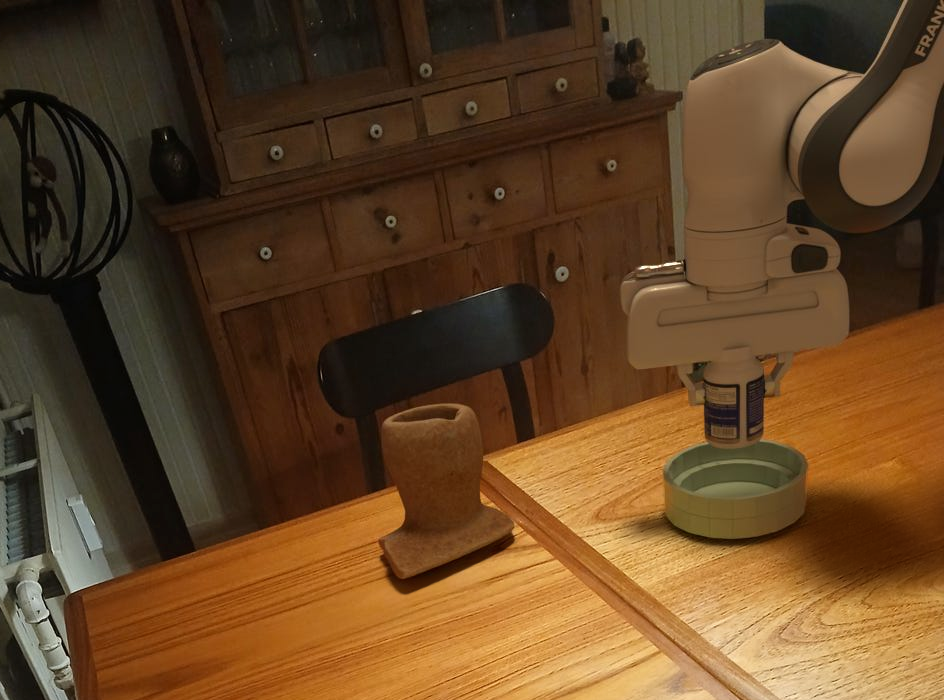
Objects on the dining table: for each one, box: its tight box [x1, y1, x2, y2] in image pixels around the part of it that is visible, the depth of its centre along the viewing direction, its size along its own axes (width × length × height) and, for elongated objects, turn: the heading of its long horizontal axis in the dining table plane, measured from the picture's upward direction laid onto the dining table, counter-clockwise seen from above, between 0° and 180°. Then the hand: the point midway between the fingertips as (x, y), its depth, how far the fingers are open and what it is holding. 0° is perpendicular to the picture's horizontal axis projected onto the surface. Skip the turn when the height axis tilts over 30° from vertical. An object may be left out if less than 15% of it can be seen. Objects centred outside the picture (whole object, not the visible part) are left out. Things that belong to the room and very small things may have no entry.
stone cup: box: [377, 403, 515, 580], centre depth 102 cm, size 15×12×15 cm
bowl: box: [662, 438, 809, 540], centre depth 102 cm, size 14×14×5 cm
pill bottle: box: [702, 346, 765, 449], centre depth 96 cm, size 6×6×10 cm
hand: (733, 399), depth 96 cm, fingers closed on pill bottle, 6 cm apart
